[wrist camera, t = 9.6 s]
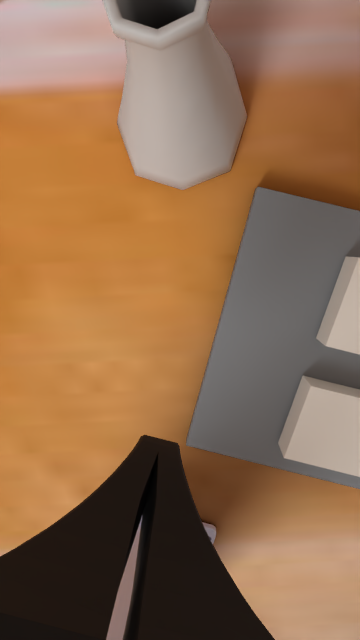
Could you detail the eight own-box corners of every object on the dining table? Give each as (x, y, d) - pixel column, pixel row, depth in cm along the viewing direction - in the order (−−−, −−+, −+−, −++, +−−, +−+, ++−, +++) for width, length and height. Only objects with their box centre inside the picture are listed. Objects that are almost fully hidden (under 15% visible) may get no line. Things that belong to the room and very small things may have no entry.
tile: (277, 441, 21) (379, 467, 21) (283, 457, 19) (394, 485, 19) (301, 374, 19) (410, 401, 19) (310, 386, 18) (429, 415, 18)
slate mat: (406, 493, 22) (413, 502, 21) (186, 438, 22) (185, 445, 21) (527, 254, 18) (542, 254, 17) (255, 189, 18) (257, 186, 17)
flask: (248, 41, 16) (316, -264, 7) (245, 188, 18) (295, 120, 8) (113, 51, 17) (-9, -216, 7) (122, 193, 18) (34, 134, 9)
